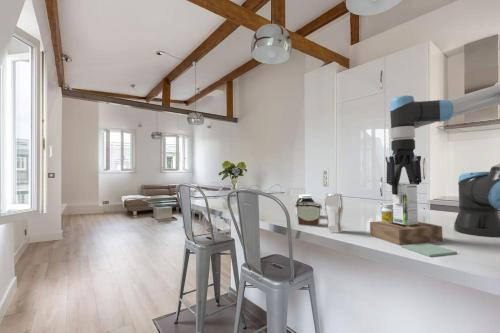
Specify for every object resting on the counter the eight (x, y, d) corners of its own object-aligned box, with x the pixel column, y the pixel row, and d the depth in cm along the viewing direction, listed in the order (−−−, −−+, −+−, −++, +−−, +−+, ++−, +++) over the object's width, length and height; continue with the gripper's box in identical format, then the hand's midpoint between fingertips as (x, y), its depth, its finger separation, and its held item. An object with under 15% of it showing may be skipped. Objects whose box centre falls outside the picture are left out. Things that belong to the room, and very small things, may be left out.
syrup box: (392, 222, 99) (391, 183, 100) (405, 221, 101) (404, 182, 101) (405, 225, 94) (404, 184, 94) (418, 224, 96) (417, 183, 96)
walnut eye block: (409, 231, 106) (408, 219, 107) (442, 240, 93) (442, 226, 93) (370, 235, 102) (370, 222, 102) (399, 245, 88) (399, 230, 88)
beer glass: (344, 233, 105) (344, 195, 105) (326, 232, 107) (325, 195, 107) (342, 229, 112) (341, 193, 112) (325, 229, 114) (324, 193, 114)
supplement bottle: (398, 226, 117) (397, 204, 117) (389, 227, 115) (389, 205, 115) (387, 224, 122) (386, 203, 122) (379, 225, 120) (378, 203, 120)
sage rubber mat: (426, 244, 89) (426, 242, 89) (456, 253, 79) (456, 251, 79) (401, 247, 86) (401, 245, 86) (429, 256, 77) (429, 254, 77)
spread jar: (297, 218, 139) (297, 195, 139) (293, 214, 150) (293, 194, 150) (320, 218, 139) (320, 195, 139) (315, 214, 150) (314, 193, 150)
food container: (326, 224, 122) (325, 202, 123) (321, 227, 117) (321, 204, 117) (300, 222, 129) (300, 201, 129) (295, 224, 124) (295, 202, 124)
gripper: (415, 140, 104) (417, 200, 104) (373, 140, 99) (375, 203, 99) (432, 138, 97) (434, 202, 96) (388, 138, 92) (390, 205, 92)
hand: (404, 203), depth 98 cm, fingers closed on syrup box, 6 cm apart
